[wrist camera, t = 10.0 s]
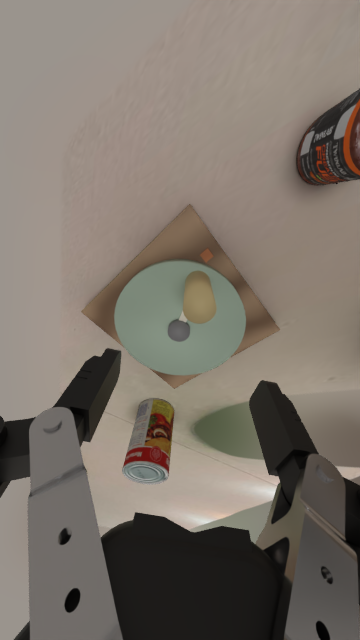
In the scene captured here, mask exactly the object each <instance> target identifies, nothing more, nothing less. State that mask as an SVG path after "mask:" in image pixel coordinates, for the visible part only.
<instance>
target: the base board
mask: <svg viewBox="0 0 360 640" xmlns="http://www.w3.org/2000/svg"><path fill="white" fill-rule="evenodd" d="M170 259H188V260H194V261H198V262H201V263H204V264H206V265H209V266H211V267H213V268H214V269H216V270H218V271H219V272H220V273H222V274H223V275H224V276H225V277H226V278H227V279H228V280H229V281H230V282H231V283H232V285H233V286H234V288H235V289H236V291H237V293H238V295H239V297H240V299H241V301H242V303H243V306H244V310H245V316H246V327H245V332H244V336H243V339H242V341H241V343H240V345H239V347H238V348H237V350H236V351H235V352H234V354H233V355H232V356H234V355H236V354H237V353H239V352H241V351H243V350H245V349H246V348H248V347H250V346H252V345H254V344H255V343H257V342H259V341H261V340H263V339H264V338H266V337H268V336H270V335H272V334H273V333H275V332H277V331H279V330H280V329H279V327H278V326H277V325H276V323H275V322H274V320H273V319H272V318H271V316H270V315H269V314H268V312H267V311H266V309H265V308H264V307H263V305H262V304H261V302H260V301H259V300H258V298H257V297H256V295H255V294H254V293H253V291H252V290H251V288H250V287H249V286H248V284H247V283H246V282H245V280H244V279H243V277H242V276H241V275H240V273H239V272H238V270H237V269H236V268H235V266H234V265H233V263H232V262H231V261H230V259H229V258H228V257H227V255H226V254H225V252H224V251H223V250H222V248H221V247H220V245H219V244H218V243H217V241H216V240H215V238H214V237H213V236H212V234H211V233H210V232H209V230H208V229H207V227H206V226H205V225H204V223H203V222H202V220H201V219H200V218H199V216H198V215H197V213H196V212H195V211H194V209H193V208H192V206H191V205H190V204H189V205H188V206H187V207H186V208H185V209H184V210H183V211H182V212H181V213H180V214H179V215H178V216H177V217H176V218H175V219H174V220H173V221H172V222H171V223H170V224H169V225H168V226H167V227H166V228H165V229H164V230H163V231H162V232H161V233H160V234H159V235H158V236H157V237H156V238H155V239H154V240H153V241H152V242H151V243H150V244H149V245H148V246H147V247H146V248H145V249H144V250H143V251H142V252H141V253H140V254H139V255H138V256H137V257H136V258H135V259H134V260H133V261H132V262H131V263H130V264H129V265H128V266H127V267H126V268H125V269H124V270H123V271H122V272H121V273H120V274H118V275H117V276H116V277H115V278H114V279H113V280H112V281H111V282H110V283H109V284H108V285H107V286H106V287H105V288H104V289H103V290H102V291H101V292H100V293H99V294H98V295H97V296H96V297H95V298H94V299H93V300H92V301H91V302H90V303H89V304H88V305H87V306H86V307H85V308H84V309H83V310H82V311H81V312H82V313H83V314H84V315H86V316H87V317H88V318H89V319H90V320H92V321H93V322H94V323H95V324H96V325H98V326H99V327H100V328H101V329H102V330H104V331H105V332H106V333H107V334H109V335H110V336H111V337H112V338H113V339H115V340H116V341H117V342H118V343H119V344H121V345H122V343H121V341H120V339H119V337H118V334H117V331H116V327H115V320H114V314H115V307H116V303H117V300H118V298H119V296H120V294H121V292H122V290H123V289H124V287H125V286H126V285H127V284H128V283H129V281H130V280H131V279H132V278H133V277H134V276H135V275H136V274H137V273H139V272H140V271H141V270H143V269H144V268H146V267H148V266H150V265H152V264H154V263H157V262H160V261H164V260H170ZM122 346H123V345H122ZM123 347H124V346H123ZM124 348H125V347H124ZM232 356H231V357H232ZM150 369H151V368H150ZM151 370H152V371H153V372H155V373H156V374H157V375H158V376H159V377H161V378H162V379H163V380H164V381H166V382H167V383H168V384H169V385H170V386H172V387H173V388H174V389H175V388H176V387H178V386H180V385H182V384H183V383H185V382H187V381H189V380H191V379H192V378H194V377H196V376H198V375H200V374H201V373H199V374H194V375H171V374H165V373H161V372H158V371H155V370H153V369H151Z"/></svg>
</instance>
